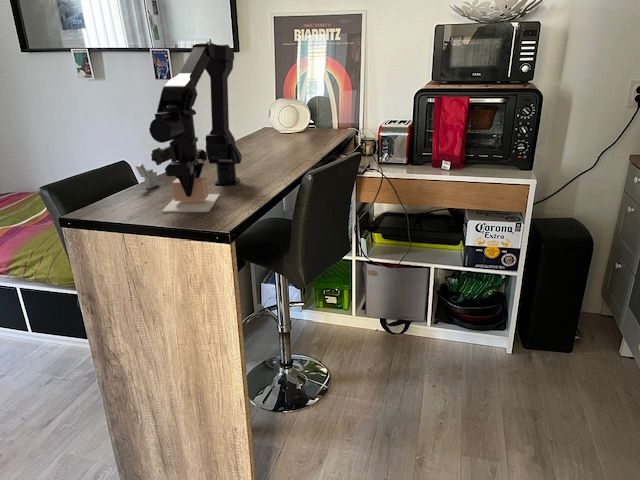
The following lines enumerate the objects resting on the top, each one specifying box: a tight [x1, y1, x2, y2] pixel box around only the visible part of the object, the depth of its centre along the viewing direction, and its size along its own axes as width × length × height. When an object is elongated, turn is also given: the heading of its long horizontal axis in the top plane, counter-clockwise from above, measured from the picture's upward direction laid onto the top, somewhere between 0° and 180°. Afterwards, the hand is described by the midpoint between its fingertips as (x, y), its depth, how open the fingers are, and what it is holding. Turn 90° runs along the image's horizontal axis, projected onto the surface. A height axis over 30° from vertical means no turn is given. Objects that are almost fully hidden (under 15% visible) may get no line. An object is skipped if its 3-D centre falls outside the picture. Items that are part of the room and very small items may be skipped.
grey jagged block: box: [135, 163, 159, 189], centre depth 150 cm, size 7×2×8 cm, turn 161°
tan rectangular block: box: [171, 177, 209, 201], centre depth 133 cm, size 8×4×5 cm, turn 89°
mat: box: [161, 193, 221, 214], centre depth 135 cm, size 14×12×1 cm
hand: (191, 193), depth 134 cm, fingers closed on tan rectangular block, 4 cm apart
